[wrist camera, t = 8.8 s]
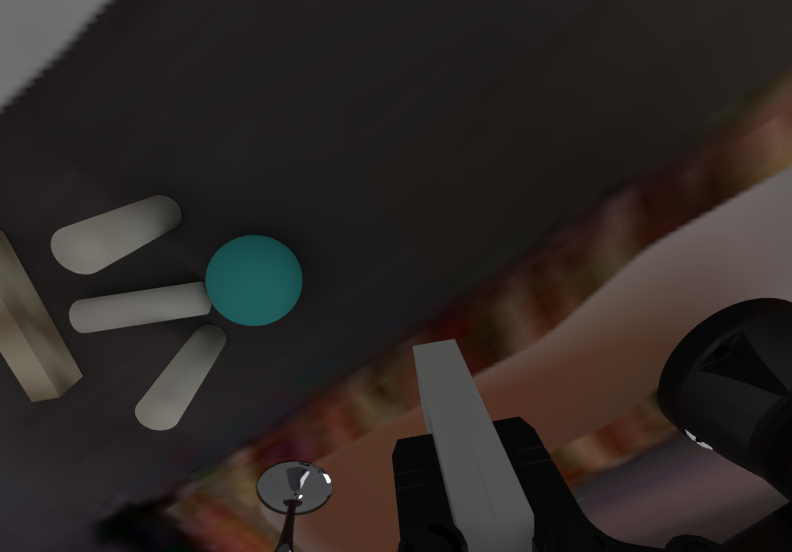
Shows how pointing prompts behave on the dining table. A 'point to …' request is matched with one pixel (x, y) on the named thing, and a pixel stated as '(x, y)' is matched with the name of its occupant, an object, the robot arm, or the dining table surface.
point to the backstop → (31, 334)
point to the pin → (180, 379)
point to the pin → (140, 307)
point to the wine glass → (293, 494)
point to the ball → (254, 280)
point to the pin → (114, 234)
